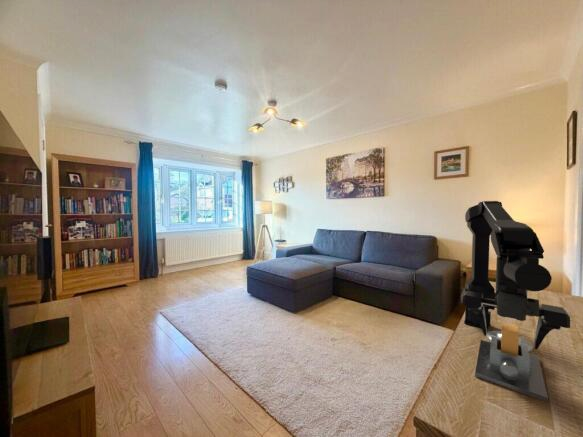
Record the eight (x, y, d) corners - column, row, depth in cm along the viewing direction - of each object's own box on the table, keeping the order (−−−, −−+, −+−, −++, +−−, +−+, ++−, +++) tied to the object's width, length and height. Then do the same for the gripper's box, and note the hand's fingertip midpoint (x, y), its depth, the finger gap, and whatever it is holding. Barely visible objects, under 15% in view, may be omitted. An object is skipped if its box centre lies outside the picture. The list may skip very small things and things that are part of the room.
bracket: (475, 376, 58) (475, 351, 58) (480, 342, 73) (481, 322, 73) (547, 402, 51) (548, 374, 50) (537, 358, 65) (538, 336, 65)
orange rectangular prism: (500, 368, 60) (501, 328, 59) (500, 361, 63) (501, 322, 62) (517, 374, 58) (518, 332, 57) (516, 365, 61) (517, 326, 60)
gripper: (460, 278, 59) (458, 341, 60) (577, 296, 47) (574, 375, 48) (465, 269, 68) (464, 325, 68) (566, 282, 55) (563, 350, 56)
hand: (509, 341), depth 60 cm, fingers open, 9 cm apart
